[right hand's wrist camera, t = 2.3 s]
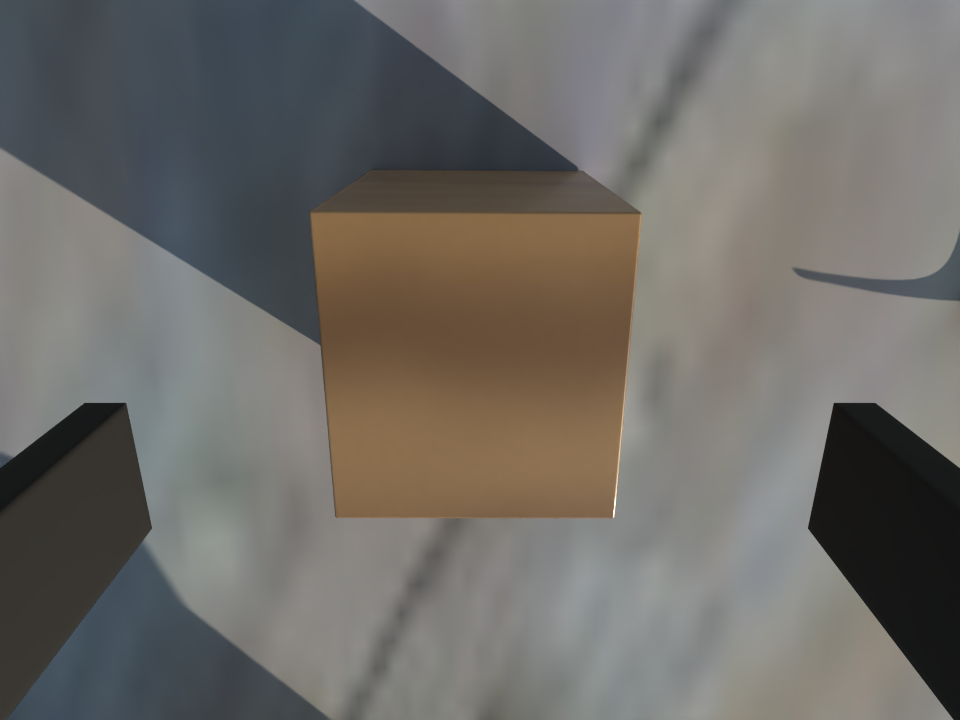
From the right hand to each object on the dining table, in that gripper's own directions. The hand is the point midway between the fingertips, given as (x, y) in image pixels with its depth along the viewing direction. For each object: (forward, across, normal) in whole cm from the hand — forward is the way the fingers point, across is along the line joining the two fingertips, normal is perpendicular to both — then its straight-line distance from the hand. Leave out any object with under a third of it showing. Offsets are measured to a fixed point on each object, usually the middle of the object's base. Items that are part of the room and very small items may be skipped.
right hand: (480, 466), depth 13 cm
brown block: (+14, 0, 0) cm, 14 cm away
